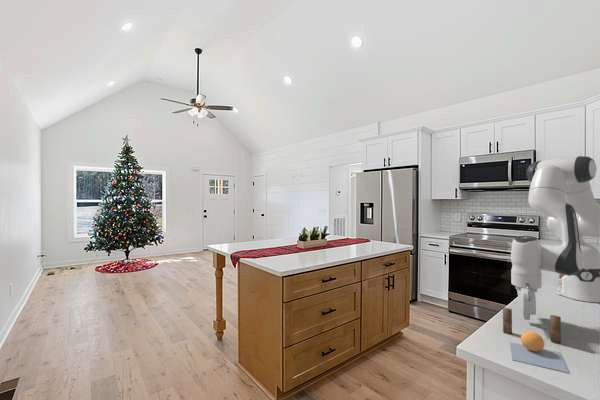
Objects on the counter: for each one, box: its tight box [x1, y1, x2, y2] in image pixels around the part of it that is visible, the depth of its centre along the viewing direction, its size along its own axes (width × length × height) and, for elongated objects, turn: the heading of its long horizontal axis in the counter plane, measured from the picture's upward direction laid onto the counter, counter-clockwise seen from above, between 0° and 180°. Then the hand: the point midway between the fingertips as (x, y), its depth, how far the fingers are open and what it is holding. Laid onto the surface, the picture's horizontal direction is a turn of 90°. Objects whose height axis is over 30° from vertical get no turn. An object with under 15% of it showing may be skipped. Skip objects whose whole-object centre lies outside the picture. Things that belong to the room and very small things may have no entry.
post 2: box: [549, 314, 562, 345], centre depth 93 cm, size 2×2×8 cm
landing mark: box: [509, 341, 570, 374], centre depth 85 cm, size 12×12×1 cm
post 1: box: [502, 307, 513, 335], centre depth 100 cm, size 2×2×8 cm
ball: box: [520, 330, 545, 352], centre depth 88 cm, size 6×6×6 cm
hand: (526, 318), depth 107 cm, fingers closed
